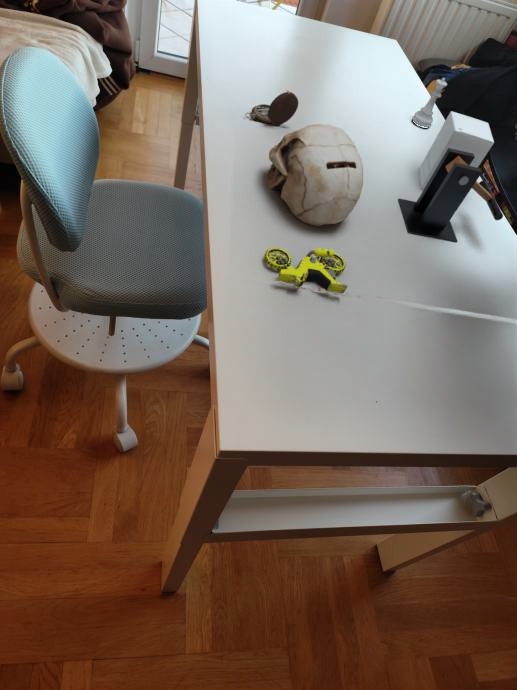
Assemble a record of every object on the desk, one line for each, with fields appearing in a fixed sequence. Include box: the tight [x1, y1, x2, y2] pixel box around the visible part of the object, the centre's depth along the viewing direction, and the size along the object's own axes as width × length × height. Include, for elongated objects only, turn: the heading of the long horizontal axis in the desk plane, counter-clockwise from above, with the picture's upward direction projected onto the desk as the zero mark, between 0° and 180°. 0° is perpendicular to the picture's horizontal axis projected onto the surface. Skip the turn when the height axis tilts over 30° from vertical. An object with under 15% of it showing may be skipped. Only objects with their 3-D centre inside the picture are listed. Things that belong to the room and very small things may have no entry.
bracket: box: [397, 148, 483, 244], centre depth 79 cm, size 9×9×13 cm
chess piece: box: [412, 77, 448, 127], centre depth 104 cm, size 4×4×10 cm
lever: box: [445, 156, 504, 221], centre depth 77 cm, size 11×9×2 cm
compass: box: [244, 89, 299, 127], centre depth 90 cm, size 8×8×7 cm
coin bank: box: [266, 123, 364, 227], centre depth 76 cm, size 16×17×13 cm
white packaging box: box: [418, 110, 495, 191], centre depth 87 cm, size 7×7×13 cm
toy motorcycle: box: [263, 247, 349, 294], centre depth 67 cm, size 12×4×7 cm
